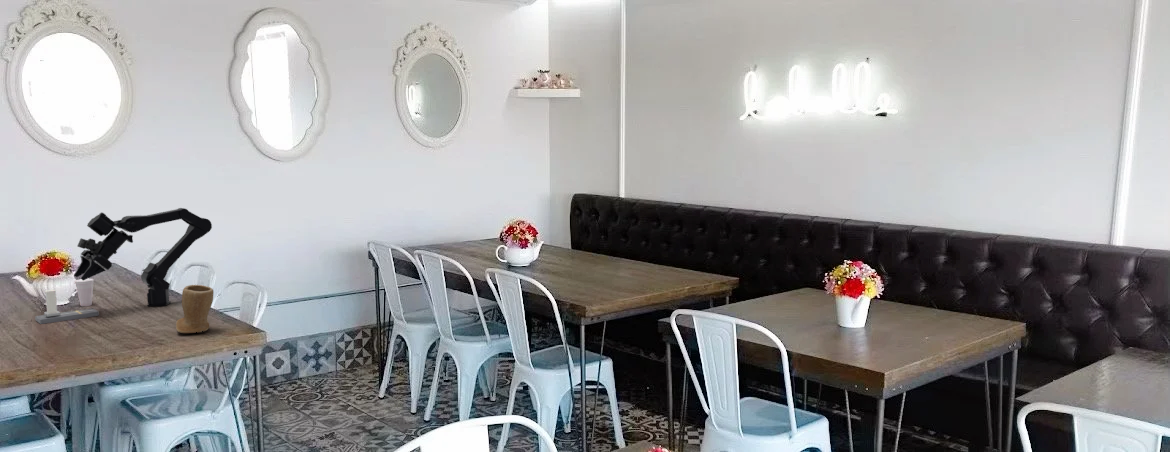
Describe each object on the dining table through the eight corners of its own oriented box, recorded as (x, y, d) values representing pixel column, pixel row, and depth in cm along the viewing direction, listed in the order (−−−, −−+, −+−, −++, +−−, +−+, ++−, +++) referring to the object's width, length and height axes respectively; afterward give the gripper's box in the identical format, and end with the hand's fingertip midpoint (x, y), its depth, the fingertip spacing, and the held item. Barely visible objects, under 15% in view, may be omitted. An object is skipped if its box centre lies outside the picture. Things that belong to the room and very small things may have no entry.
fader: (57, 312, 303) (55, 288, 302) (60, 314, 299) (58, 290, 298) (44, 314, 300) (42, 290, 299) (47, 316, 296) (45, 292, 295)
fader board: (93, 312, 312) (92, 307, 312) (99, 315, 306) (98, 311, 306) (35, 320, 300) (35, 315, 299) (40, 324, 294) (40, 319, 294)
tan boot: (216, 333, 278) (213, 287, 276) (175, 337, 273) (172, 291, 271) (215, 323, 291) (212, 280, 289) (176, 327, 287) (173, 283, 285)
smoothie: (89, 306, 321) (86, 270, 320) (72, 307, 321) (69, 270, 320) (99, 303, 328) (96, 267, 326) (82, 303, 328) (79, 267, 326)
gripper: (85, 227, 313) (52, 260, 306) (99, 232, 299) (65, 266, 293) (110, 247, 319) (79, 280, 313) (125, 252, 305) (92, 286, 299)
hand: (78, 277), depth 304 cm, fingers open, 9 cm apart
